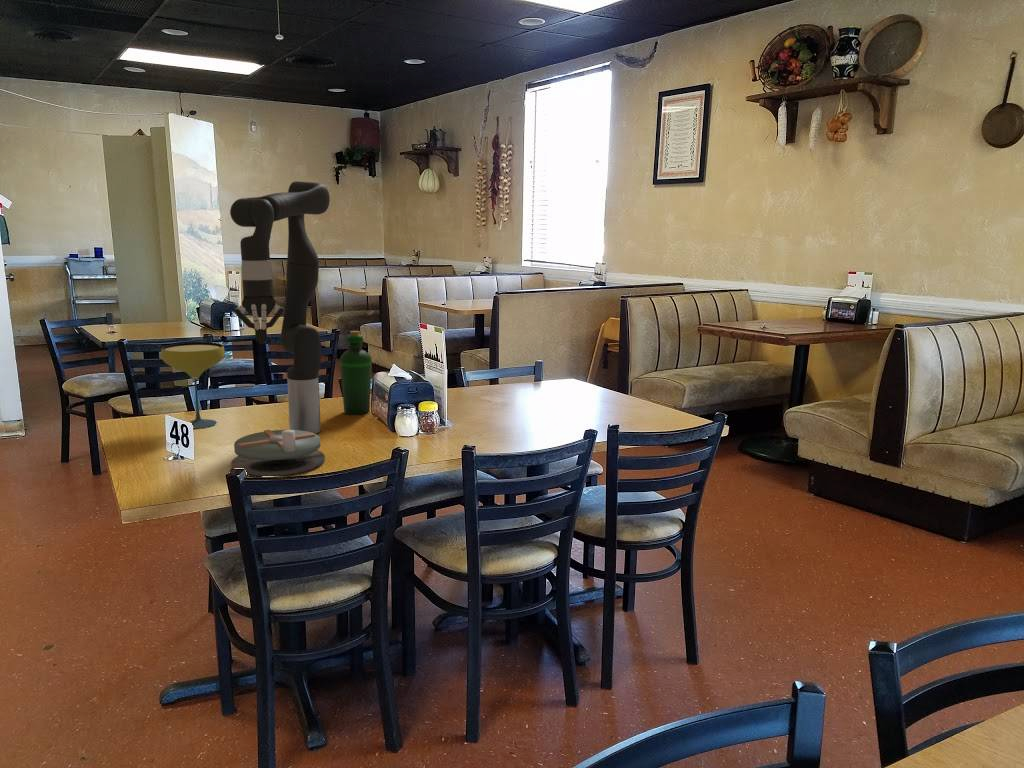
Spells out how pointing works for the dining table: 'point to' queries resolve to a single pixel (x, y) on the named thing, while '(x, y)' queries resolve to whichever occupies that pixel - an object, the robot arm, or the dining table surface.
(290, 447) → the handwheel
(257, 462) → the base
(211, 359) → the cocktail glass
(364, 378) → the bottle
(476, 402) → the dining table surface
